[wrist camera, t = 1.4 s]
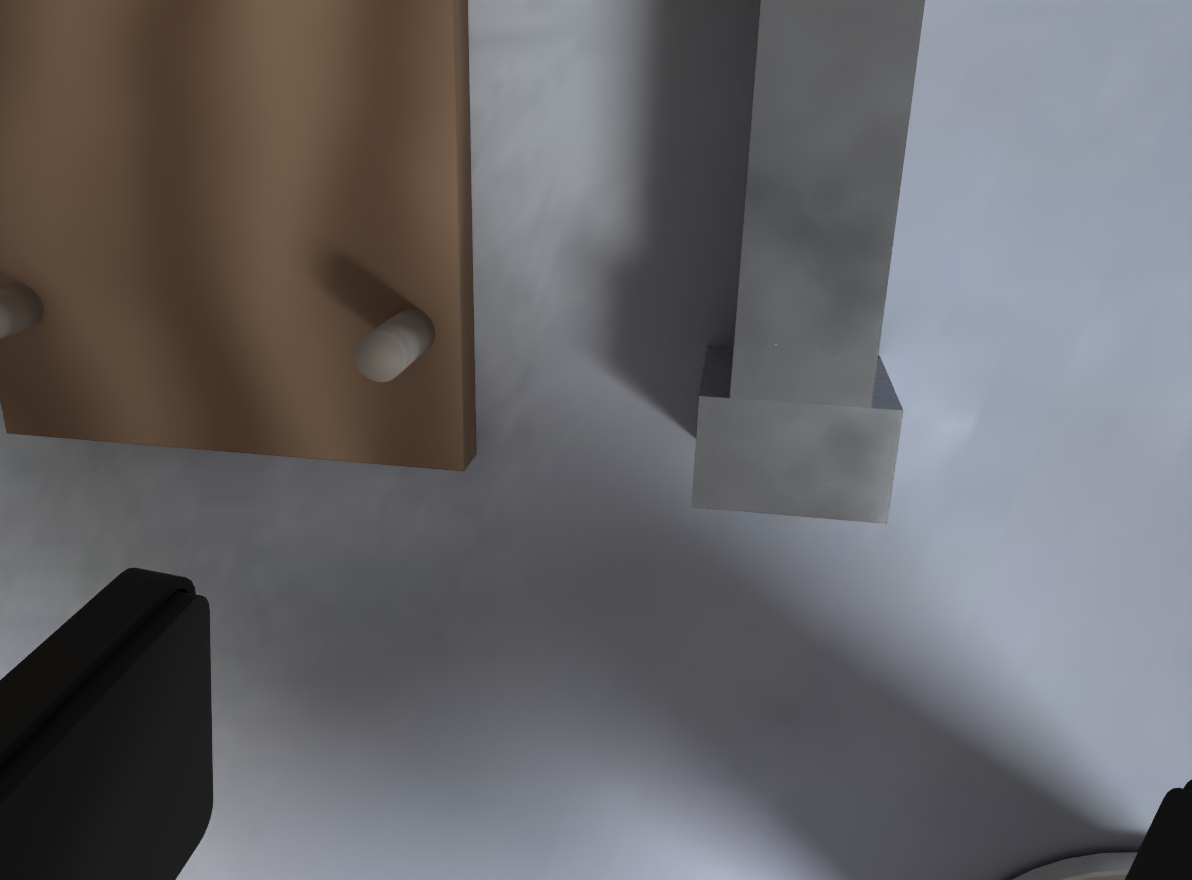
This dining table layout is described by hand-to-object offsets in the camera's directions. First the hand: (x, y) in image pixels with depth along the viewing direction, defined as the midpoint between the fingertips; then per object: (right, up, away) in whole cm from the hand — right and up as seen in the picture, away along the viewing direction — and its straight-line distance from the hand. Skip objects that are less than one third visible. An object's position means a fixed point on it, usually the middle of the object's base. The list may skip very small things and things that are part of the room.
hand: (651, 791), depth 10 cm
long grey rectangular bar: (+6, +12, +19) cm, 23 cm away
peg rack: (-12, +13, +21) cm, 27 cm away
